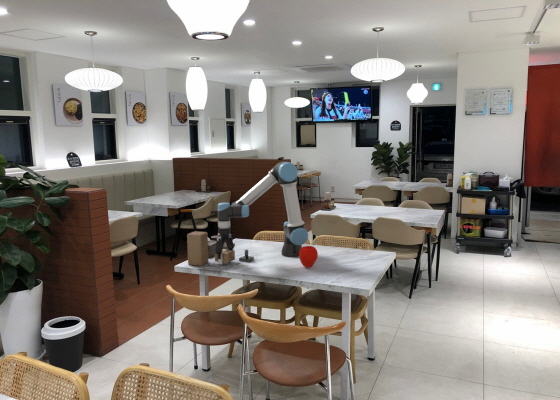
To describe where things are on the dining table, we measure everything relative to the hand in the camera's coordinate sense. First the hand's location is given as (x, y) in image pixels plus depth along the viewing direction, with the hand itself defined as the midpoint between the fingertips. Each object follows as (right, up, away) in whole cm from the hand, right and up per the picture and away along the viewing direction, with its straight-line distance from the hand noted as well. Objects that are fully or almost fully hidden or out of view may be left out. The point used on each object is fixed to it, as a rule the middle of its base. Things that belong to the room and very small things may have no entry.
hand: (225, 262), depth 284 cm
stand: (+13, 0, +9) cm, 16 cm away
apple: (+52, -2, -7) cm, 53 cm away
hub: (0, -1, 0) cm, 1 cm away
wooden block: (-17, -2, +2) cm, 18 cm away
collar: (0, +1, 0) cm, 1 cm away
